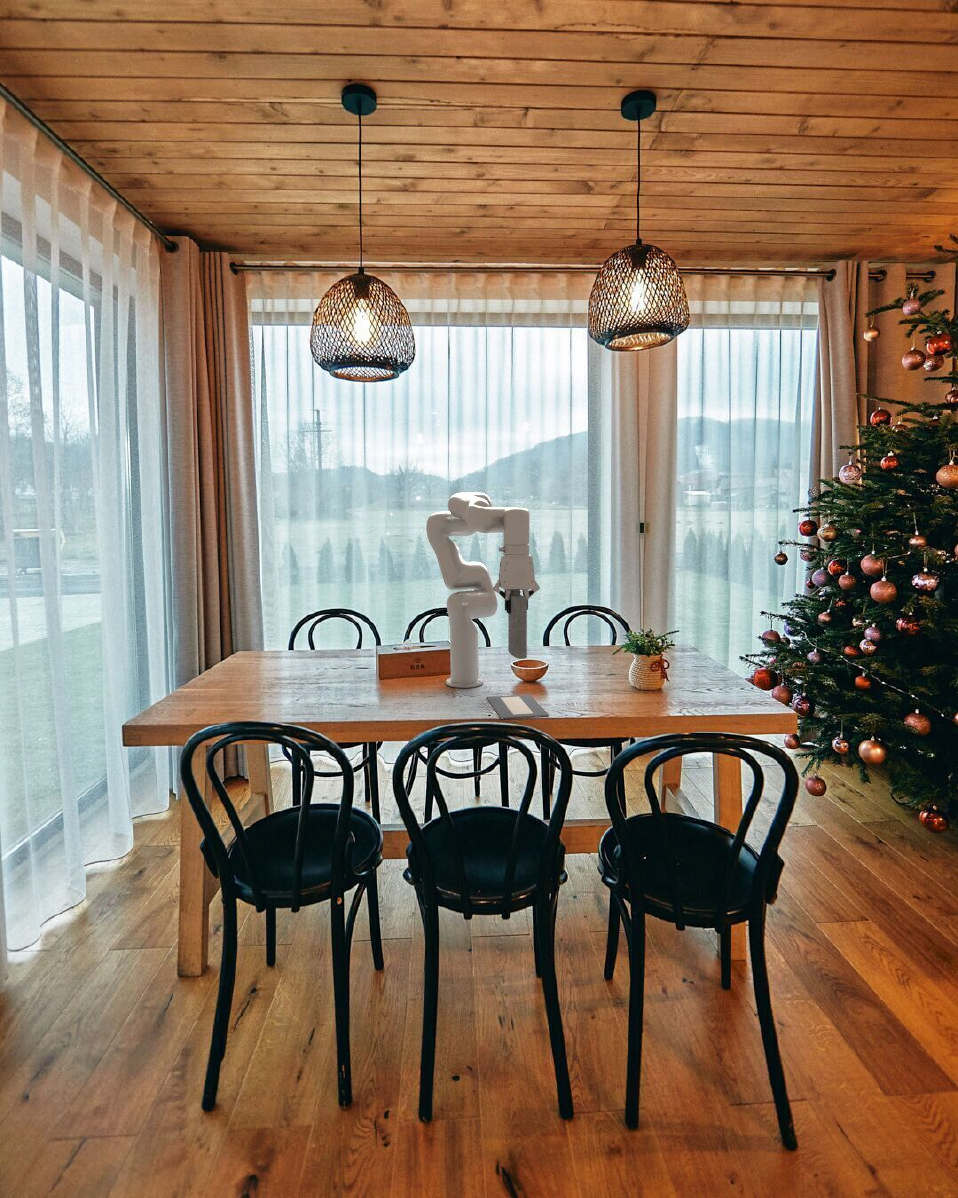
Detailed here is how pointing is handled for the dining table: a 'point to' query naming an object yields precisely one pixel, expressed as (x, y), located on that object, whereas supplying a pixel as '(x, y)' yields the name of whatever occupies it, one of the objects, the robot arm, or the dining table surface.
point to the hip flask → (517, 625)
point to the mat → (516, 706)
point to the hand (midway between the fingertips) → (516, 612)
